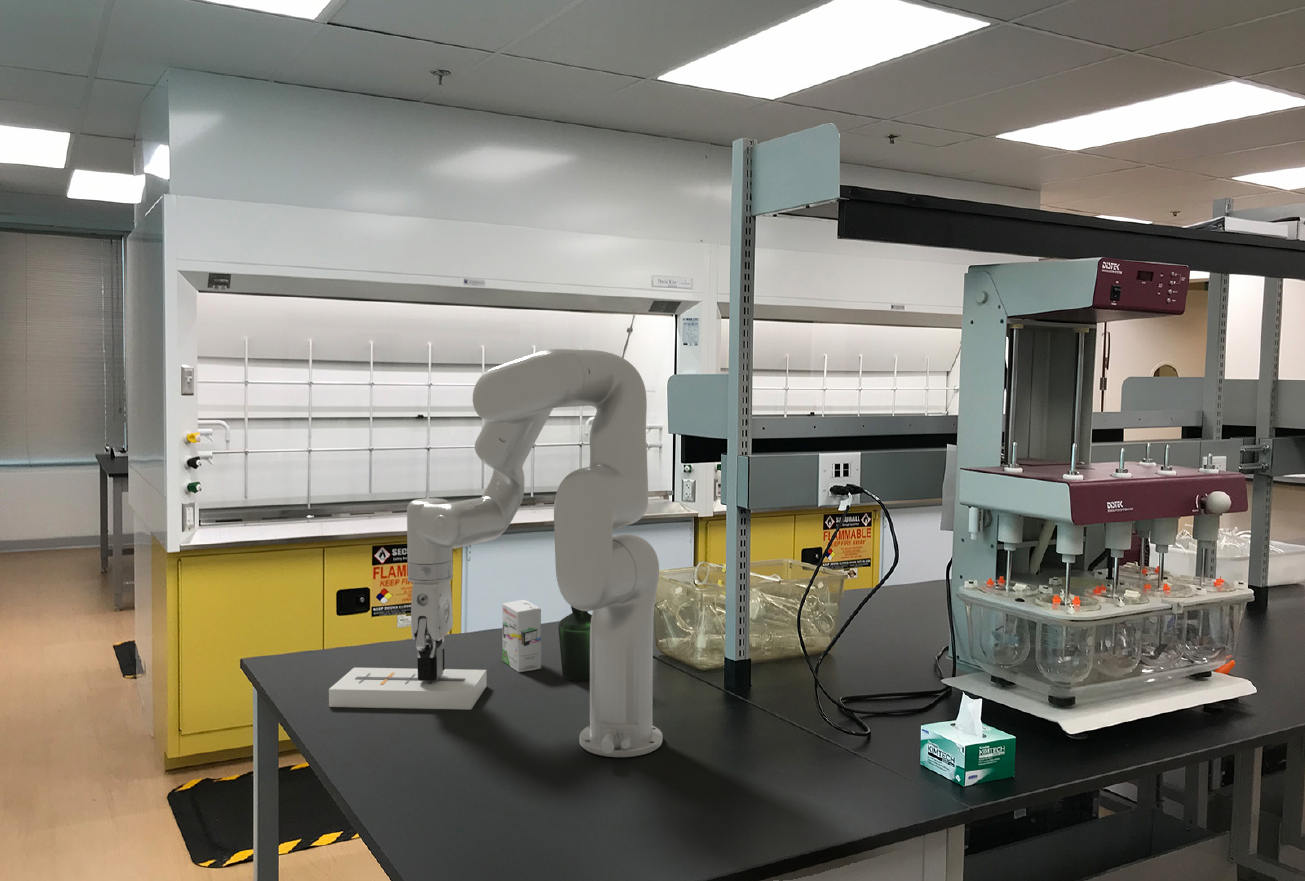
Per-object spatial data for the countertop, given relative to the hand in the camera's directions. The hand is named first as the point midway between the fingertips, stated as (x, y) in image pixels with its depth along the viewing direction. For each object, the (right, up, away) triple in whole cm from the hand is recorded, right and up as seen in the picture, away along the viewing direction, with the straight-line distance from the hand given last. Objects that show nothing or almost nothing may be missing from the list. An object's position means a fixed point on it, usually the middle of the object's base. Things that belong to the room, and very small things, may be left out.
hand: (431, 674), depth 165 cm
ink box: (+13, -3, +19) cm, 23 cm away
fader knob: (0, 0, 0) cm, 0 cm away
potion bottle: (+25, -3, +12) cm, 28 cm away
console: (-4, -4, 0) cm, 5 cm away
